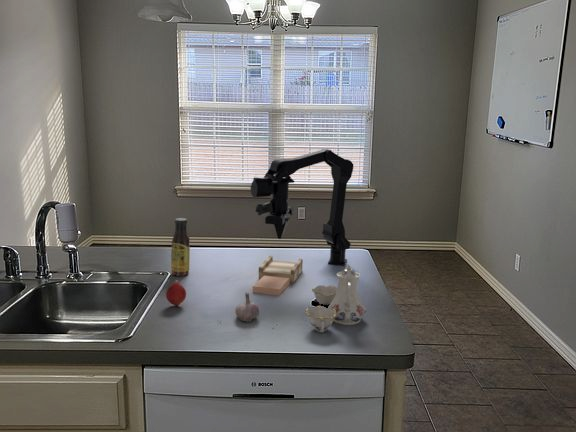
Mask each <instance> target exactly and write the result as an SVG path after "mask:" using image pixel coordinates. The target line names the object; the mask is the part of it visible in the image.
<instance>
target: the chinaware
mask: <svg viewBox="0 0 576 432" xmlns="http://www.w3.org/2000/svg"><path fill="white" fill-rule="evenodd" d="M336 276H337V280H338V282H337V286H335V285H329V286H325V285H321V284H320V285H317V286H316V287H315V288H312V289H311V291H312V292H313V294H314V298H315V300H316V301H317V302H319V303H318V304H319V305H317V306H315V307H313V308H312V307H308V308H306V310H305V313H306V316H307V318H308V322H309V324H310V325H311V326H312V327H313V328H314V330H315V331H317V333H326V331H327V330H328V328H330V327H331V326H332V325H333V323H335V324H338V325H344V326H353V325H357V324H360V323H361V322H362V317H364V316H365V314H366V312H367V309H366V306H365V305H364V303H363V302H362V301H363V300H361V297H360V293H359V288H358V287H359V285H358V283H359V278H360V276H361V275H360V273H359V272H356V271H354V270H353V269H352V267H351V265H349V264H348V265H347V266H346V267H345V268H344V269H343V270H342V271H339V272H337V273H336ZM321 304H323V305H328V304H330V305H329V306H328V308H326V307H324V306H321Z"/></svg>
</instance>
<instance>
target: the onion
mask: <svg viewBox="0 0 576 432" xmlns="http://www.w3.org/2000/svg"><path fill="white" fill-rule="evenodd" d="M165 298H166V300H167V301H168V303H170V304H171V305H173V306H175V307H179V306H180V305H181V304H182V303H183V302H184V301H185V300H186V298H187V291H186V288H185V287H184V286H183V285H182V284H180V283H179V280H175V281H174V282H172V283H171V284H170V285H169V287H168V288H167V290H166V292H165Z"/></svg>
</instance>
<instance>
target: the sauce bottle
mask: <svg viewBox="0 0 576 432" xmlns="http://www.w3.org/2000/svg"><path fill="white" fill-rule="evenodd" d="M187 223H188V219H187V218H184V217H179V218H178V217H177V218H175V219H174V224H175V229H174V230H175V231H174V235H173V237H172V240H171V249H170V250H171V254H170V255H171V258H170V259H171V263H170V264H171V265H170V267H171V268H170V269H171V274H172V275H173V276H175V275H176V276H175V277H177V276H178V277H184V276H187V275H188V274H189V272H190V254H191V253H190V248H191V247H190V236H189V234H188V233H187V231H188V230H187Z"/></svg>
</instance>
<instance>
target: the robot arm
mask: <svg viewBox="0 0 576 432" xmlns="http://www.w3.org/2000/svg"><path fill="white" fill-rule="evenodd" d="M320 163H321V164H322V163H325V164H326V165H328V166H329V167H330V174H331V177H332V180H333V186H332V193H331V195H332V196H331V203H330V212H329V220H328V221H327V223H325V222H324V223H323V225H322V232H321V234H322V236H323V239H324V240H325V242H326V244H327V245H328V246H330V250H329V251H330V253H329V254H330V255H329V256H330V257H329V260H328V262H327V264H328V265H329V264H330V265H340V266H341V265H342V266H345V265H346V264H347V261H348V259H347V258H346V250H348V249H350V247H351V245H352V243H351V242H350V241H349V240H348V239H347V238H346V229H345V226H344V225H345V224H344V222H343V219H344V209H345V201H346V193H347V184H348V182H349V181H350V179H351V178H352V176H353V172H354V168H355V167H354V163H353V162H352V160H350V159H346V158H343V157H342V156H340V155H338V154H336V153H335V152H334V151H332V150H331V149H329V148H321V149H319V150H317V151H313V152H310V153H306V154H303V155H299V156H297V157H289V158H287V157H285V158H276V159H273V160H272V161H271V163H270V166H269V169H268V170H267V171H266V173H265V175H264V176H263V177H256V176H254V177H253V179H252V180H253V181H252V182H251V185H250V194H251V197H253V198H263V197H271V198H270V199H269V201H268V202H265V203H262V202H261V203H257V205H256V206H255V212H256V213H257V215H258V216H262V215H263V214H267V213H268V215H267V216H266V217H265V218H264V223H265V224H266V225H273V226H274V228H275V233H276V236H277V239H278V240H281V239H282V237H283V235H284V233H285V231H286V228H287V226H288V224H289V221H290V219H291V218H290V217H287V214H289V215H290V216H293V215H294V213H295V209H294V207H293V206H289V202H290V201H291V199H290V197H289V184H292V183H293V184H294V183H295V180H294V179H293V178H292V177H291V176H292V175H294V174H295V173H296V172H297V171H299V170H301V169H304V168H307V167H311V166H314V165H316V164H317V165H318V164H320ZM271 195H272V196H271Z"/></svg>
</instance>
